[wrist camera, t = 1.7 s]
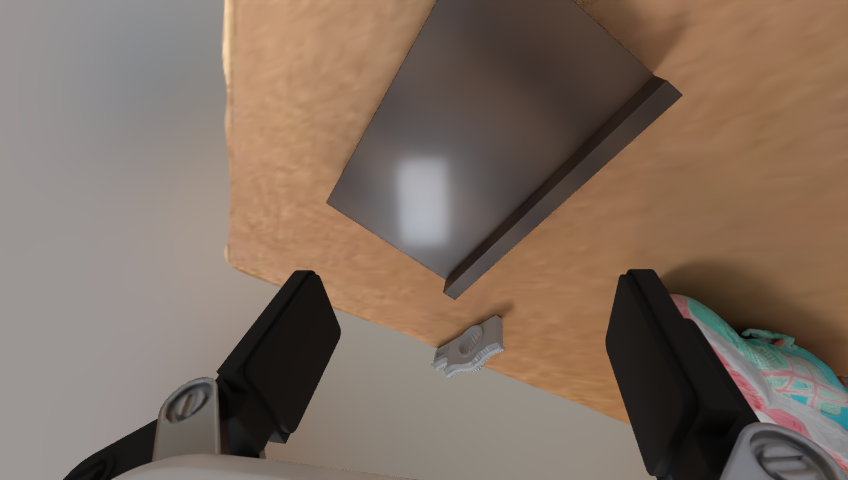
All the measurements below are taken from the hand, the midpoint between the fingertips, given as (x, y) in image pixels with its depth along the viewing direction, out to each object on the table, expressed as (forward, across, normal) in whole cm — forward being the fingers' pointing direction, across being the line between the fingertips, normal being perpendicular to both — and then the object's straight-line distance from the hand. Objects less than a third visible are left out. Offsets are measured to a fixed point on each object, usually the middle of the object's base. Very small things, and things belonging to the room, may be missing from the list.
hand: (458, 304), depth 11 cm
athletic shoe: (+23, -26, +28) cm, 45 cm away
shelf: (+23, +1, +2) cm, 23 cm away
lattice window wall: (+23, +3, +28) cm, 37 cm away
